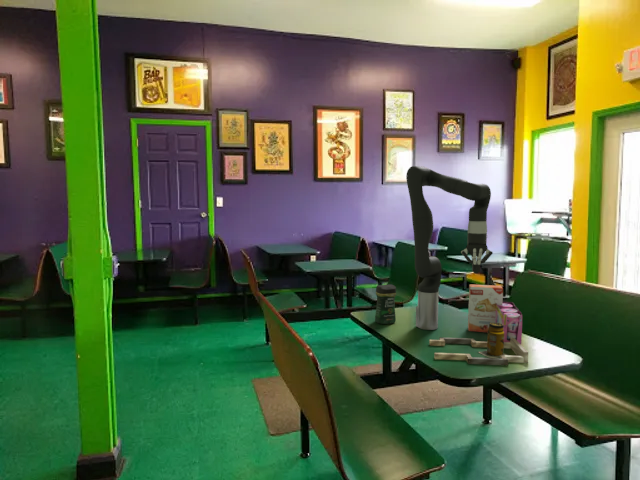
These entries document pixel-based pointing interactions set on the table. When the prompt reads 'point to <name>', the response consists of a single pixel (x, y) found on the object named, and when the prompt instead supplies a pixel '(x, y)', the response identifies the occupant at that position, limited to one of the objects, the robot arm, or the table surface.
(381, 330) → the table surface
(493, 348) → the condiment
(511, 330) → the gum box
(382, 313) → the coffee jar
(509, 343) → the lane
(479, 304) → the cracker box
